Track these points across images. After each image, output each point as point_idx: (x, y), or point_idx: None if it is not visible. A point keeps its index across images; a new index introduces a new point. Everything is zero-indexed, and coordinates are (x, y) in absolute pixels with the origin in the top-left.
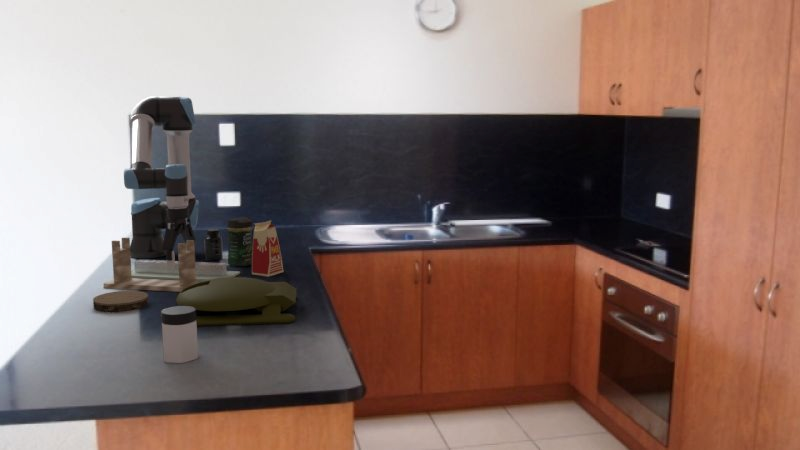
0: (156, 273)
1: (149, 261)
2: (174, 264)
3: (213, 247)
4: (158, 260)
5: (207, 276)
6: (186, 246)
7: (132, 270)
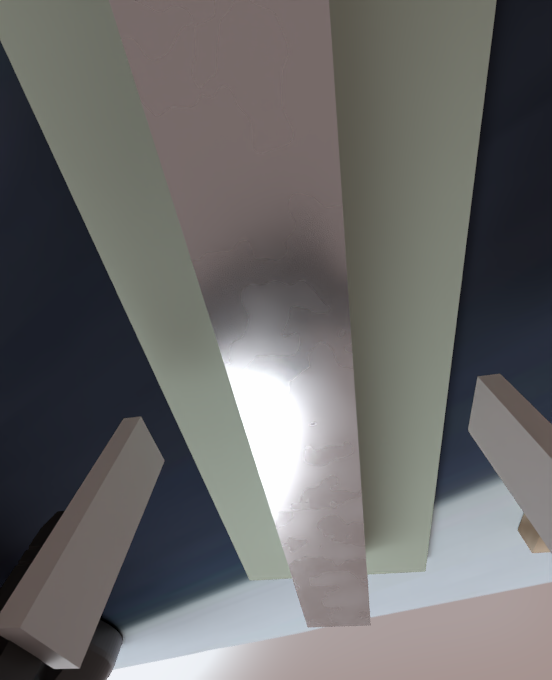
0: None
1: (344, 588)
2: (518, 409)
3: None
4: (296, 570)
5: (345, 34)
6: (81, 619)
7: None
